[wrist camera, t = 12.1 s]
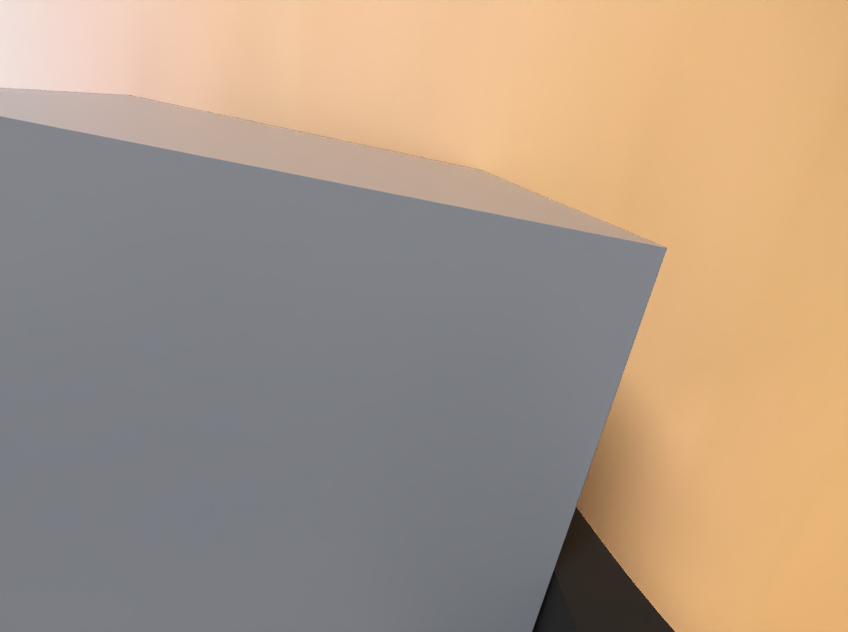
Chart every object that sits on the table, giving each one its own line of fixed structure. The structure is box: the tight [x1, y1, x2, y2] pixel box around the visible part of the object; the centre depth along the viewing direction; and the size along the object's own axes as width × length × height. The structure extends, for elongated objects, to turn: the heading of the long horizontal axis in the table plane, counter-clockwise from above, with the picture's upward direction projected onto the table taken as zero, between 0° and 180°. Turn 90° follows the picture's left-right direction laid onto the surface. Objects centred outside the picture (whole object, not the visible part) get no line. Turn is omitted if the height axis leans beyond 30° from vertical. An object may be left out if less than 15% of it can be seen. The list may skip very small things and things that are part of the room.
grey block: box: [0, 88, 667, 632], centre depth 9 cm, size 11×6×6 cm, turn 168°
